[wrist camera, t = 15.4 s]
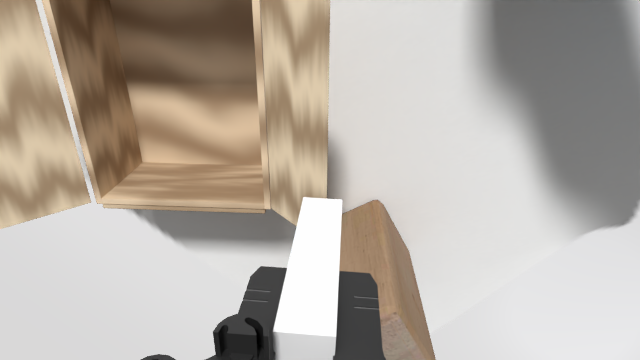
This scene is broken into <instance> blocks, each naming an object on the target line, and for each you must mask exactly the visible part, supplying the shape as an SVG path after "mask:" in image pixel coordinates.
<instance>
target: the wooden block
mask: <svg viewBox="0 0 640 360" xmlns="http://www.w3.org/2000/svg"><path fill="white" fill-rule="evenodd" d="M339 271H347V272H361V273H370V274H371V276H372V277H373V279H374V280H375V282H376V283H377V286H378V300H379V311H380V323H381V336H382V348H383V353H384V356H385V358H386V360H435V355H434V352H433V347H432V343H431V339H430V335H429V331H428V327H427V323H426V319H425V314H424V310H423V306H422V302H421V298H420V294H419V290H418V286H417V282H416V278H415V274H414V270H413V266H412V262H411V258H410V254H409V251H408V249H407V247H406V245H405V243H404V242H403V240H402V238H401V236H400V234H399V232H398V231H397V229H396V227H395V225H394V223H393V221H392V220H391V218H390V216H389V214H388V212H387V211H386V209H385V207H384V205H383V204H382V203H381V202H379V201H378V200H373V201H371V202H368V203H366V204H364V205H362V206H359V207H357V208H355V209H353V210H350V211H348V212H346V213H344V214H342V220H341V242H340V264H339Z"/></svg>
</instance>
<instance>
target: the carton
mask: <svg viewBox="0 0 640 360" xmlns="http://www.w3.org/2000/svg"><path fill="white" fill-rule="evenodd" d="M42 3H43V6H44V10H45V14H46V17H47V21H48V25H49V28H50V32H51V36H52V40H53V43H54V47H55V51H56V54H57V58H58V62H59V65H60V69H61V73H62V77H63V80H64V84H65V88H66V91H67V95H68V99H69V102H70V106H71V110H72V113H73V117H74V121H75V125H76V128H77V132H78V136H79V139H80V143H81V147H82V150H83V154H84V158H85V162H86V165H87V169H88V173H89V176H90V180H91V184H92V187H93V191H94V195H95V198H96V202H97V204H103V207H104V208H119V209H121V208H122V209H149V210H179V211H209V212H239V213H265V212H266V209H271V191H270V172H269V153H268V134H267V116H266V97H265V78H264V59H263V40H262V21H261V2H260V0H42Z"/></svg>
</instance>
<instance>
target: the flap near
mask: <svg viewBox="0 0 640 360" xmlns="http://www.w3.org/2000/svg"><path fill="white" fill-rule="evenodd" d="M260 2H261V21H262V40H263V59H264V78H265V97H266V116H267V134H268V153H269V172H270V191H271V208H272V209H273V210H274V211H276V212H277V213H278V214H280V215H281V216H283V217H284V218H285V219H287V220H288V221H290V222H291V223H292V224H294V225H295V226H296V227H297V223H298V218H299V214H300V210H301V205H302V201H303V197H309V198H325V199H327V154H328V94H329V33H330V0H260Z"/></svg>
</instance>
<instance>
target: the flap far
mask: <svg viewBox="0 0 640 360" xmlns="http://www.w3.org/2000/svg"><path fill="white" fill-rule="evenodd" d="M88 203H91V200H90V196H89V193H88V189H87V186H86V182H85V178H84V175H83V171H82V167H81V164H80V160H79V157H78V153H77V149H76V146H75V142H74V139H73V135H72V131H71V128H70V124H69V121H68V117H67V113H66V110H65V106H64V103H63V99H62V95H61V92H60V88H59V85H58V81H57V77H56V74H55V70H54V66H53V63H52V59H51V56H50V52H49V48H48V45H47V41H46V38H45V34H44V30H43V27H42V23H41V20H40V16H39V12H38V9H37V5H36V2H35V0H0V229H2V228H6V227H9V226H12V225H16V224H19V223H22V222H26V221H30V220H33V219H37V218H40V217H43V216H47V215H50V214H54V213H57V212H60V211H64V210H67V209H71V208H74V207H77V206H81V205H84V204H88Z"/></svg>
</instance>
